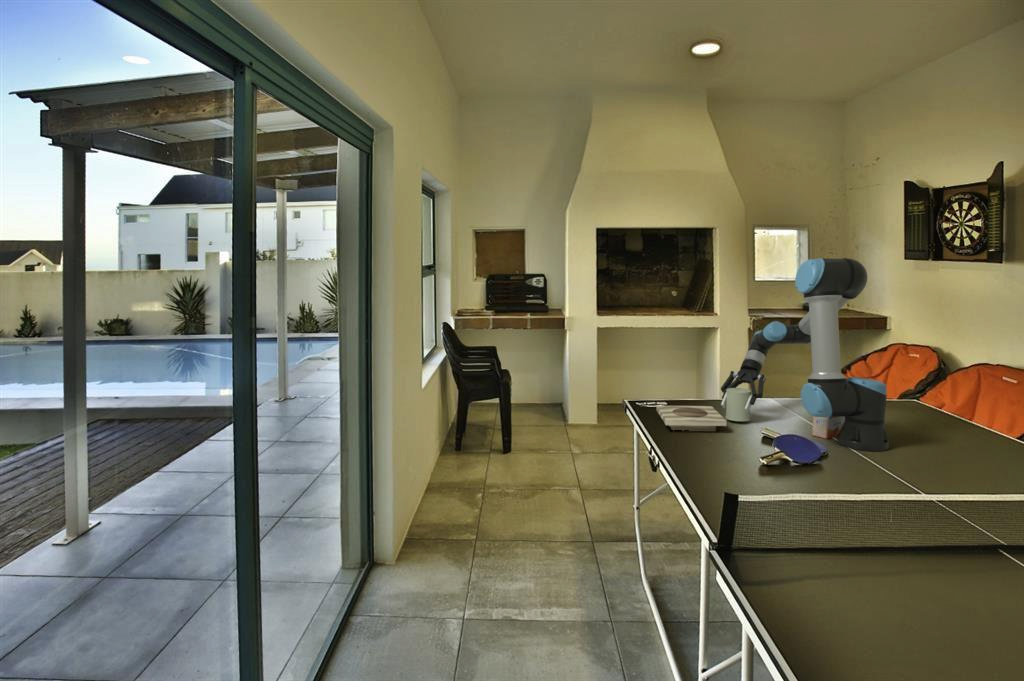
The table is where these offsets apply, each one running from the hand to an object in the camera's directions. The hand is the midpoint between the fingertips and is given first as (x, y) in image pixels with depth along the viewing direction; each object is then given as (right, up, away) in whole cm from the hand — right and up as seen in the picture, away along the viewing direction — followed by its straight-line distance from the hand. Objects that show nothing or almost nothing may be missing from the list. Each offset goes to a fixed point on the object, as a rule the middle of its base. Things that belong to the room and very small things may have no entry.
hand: (734, 408), depth 226 cm
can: (+2, -4, +3) cm, 6 cm away
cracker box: (+29, -8, -15) cm, 34 cm away
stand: (-18, -6, -1) cm, 19 cm away
